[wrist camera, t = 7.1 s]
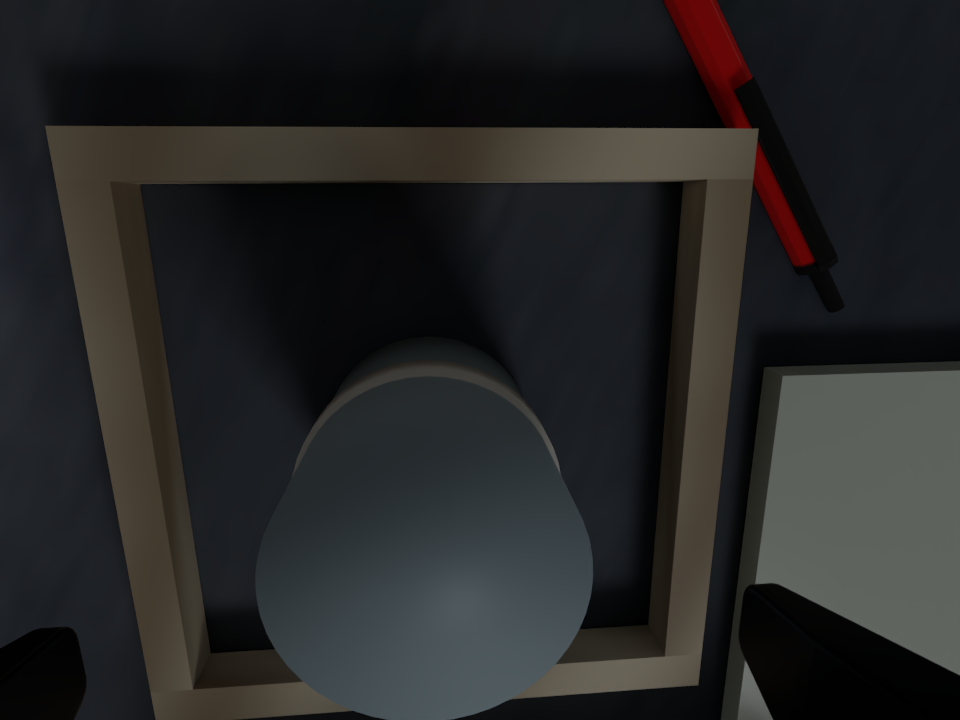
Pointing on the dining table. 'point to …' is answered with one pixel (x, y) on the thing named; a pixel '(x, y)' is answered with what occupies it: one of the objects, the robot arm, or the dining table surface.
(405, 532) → the grey round canister
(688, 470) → the open square beige frame
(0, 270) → the dining table surface
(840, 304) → the pen
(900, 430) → the pad
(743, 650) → the robot arm
